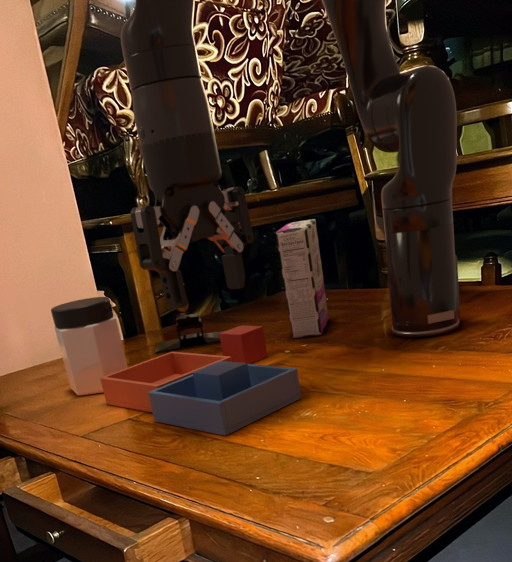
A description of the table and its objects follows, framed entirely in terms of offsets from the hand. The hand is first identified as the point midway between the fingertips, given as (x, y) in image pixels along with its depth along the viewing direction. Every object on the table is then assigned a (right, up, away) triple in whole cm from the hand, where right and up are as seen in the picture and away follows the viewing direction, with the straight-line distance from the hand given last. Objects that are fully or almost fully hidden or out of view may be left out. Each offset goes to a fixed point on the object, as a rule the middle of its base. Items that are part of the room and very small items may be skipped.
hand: (209, 297), depth 75 cm
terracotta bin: (-6, -9, +15) cm, 19 cm away
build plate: (-6, +2, +42) cm, 43 cm away
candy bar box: (+14, +3, +37) cm, 40 cm away
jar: (-17, -7, +25) cm, 31 cm away
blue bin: (+2, -12, +5) cm, 13 cm away
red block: (+4, -3, +25) cm, 26 cm away
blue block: (+2, -11, +5) cm, 12 cm away
